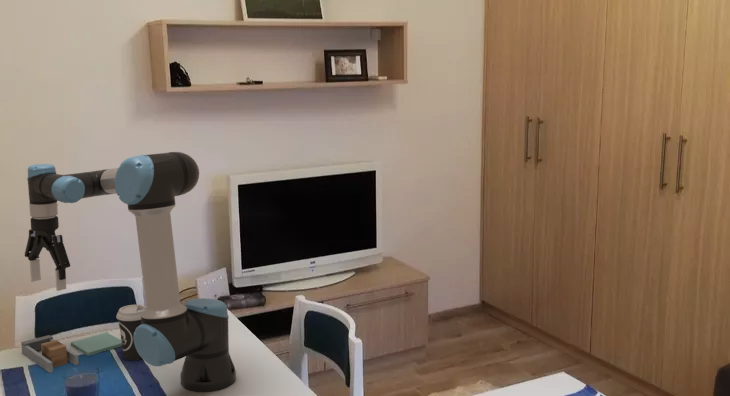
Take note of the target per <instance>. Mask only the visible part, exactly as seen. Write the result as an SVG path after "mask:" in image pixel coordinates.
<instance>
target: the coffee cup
mask: <svg viewBox="0 0 730 396" xmlns="http://www.w3.org/2000/svg"><path fill="white" fill-rule="evenodd" d="M145 308H146V305H144V304H129V305H124V306H121V307H120V308H119V309H118V312H117V313H116V316H115V317H116V319H117V320H118V327H119V333H120V340H121V341H122V346H121V347H122V353H123V358H124V359H125V360H126V359H127V361H138V360H137V359H139V360H143V358H142V357H141V356H140V355H139V353H138V352H137V350H136V347H135V344H134V339H133V336H134V332H135V330H136V328H137V327H138V326H139V325H141V324H142V321H141V313H142V312H143V311H144V310H145Z"/></svg>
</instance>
